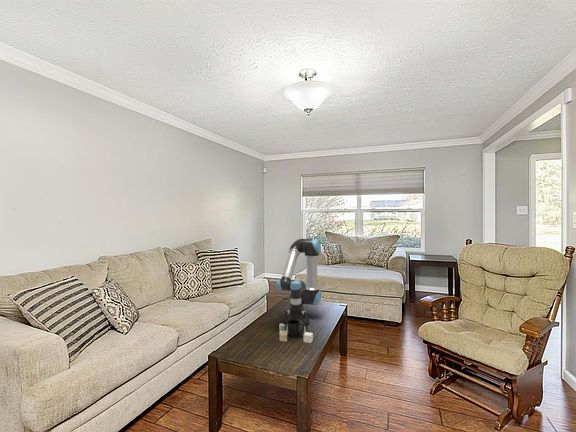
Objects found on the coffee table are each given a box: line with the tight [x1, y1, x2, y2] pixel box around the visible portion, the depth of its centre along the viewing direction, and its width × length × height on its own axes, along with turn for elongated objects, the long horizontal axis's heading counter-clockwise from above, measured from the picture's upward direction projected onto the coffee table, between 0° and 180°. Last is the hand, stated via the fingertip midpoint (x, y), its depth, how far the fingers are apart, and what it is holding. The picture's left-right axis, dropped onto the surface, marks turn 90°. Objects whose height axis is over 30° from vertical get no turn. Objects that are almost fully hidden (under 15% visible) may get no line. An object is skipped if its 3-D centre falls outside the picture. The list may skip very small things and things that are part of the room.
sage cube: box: [278, 322, 287, 332], centre depth 218 cm, size 5×5×5 cm
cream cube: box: [303, 331, 314, 344], centre depth 201 cm, size 5×5×5 cm
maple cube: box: [279, 330, 288, 343], centre depth 203 cm, size 5×5×5 cm
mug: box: [288, 319, 305, 338], centre depth 210 cm, size 8×12×10 cm
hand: (296, 334), depth 210 cm, fingers closed on mug, 12 cm apart
